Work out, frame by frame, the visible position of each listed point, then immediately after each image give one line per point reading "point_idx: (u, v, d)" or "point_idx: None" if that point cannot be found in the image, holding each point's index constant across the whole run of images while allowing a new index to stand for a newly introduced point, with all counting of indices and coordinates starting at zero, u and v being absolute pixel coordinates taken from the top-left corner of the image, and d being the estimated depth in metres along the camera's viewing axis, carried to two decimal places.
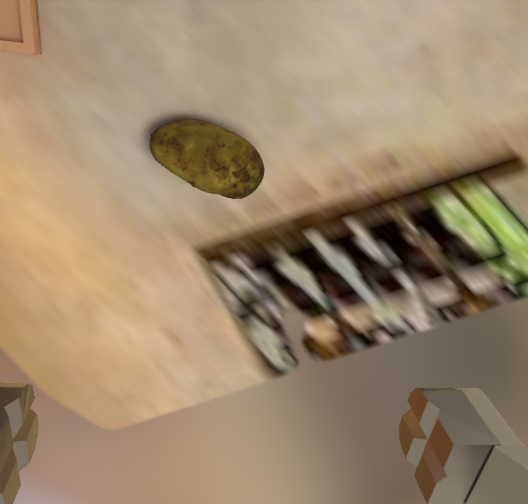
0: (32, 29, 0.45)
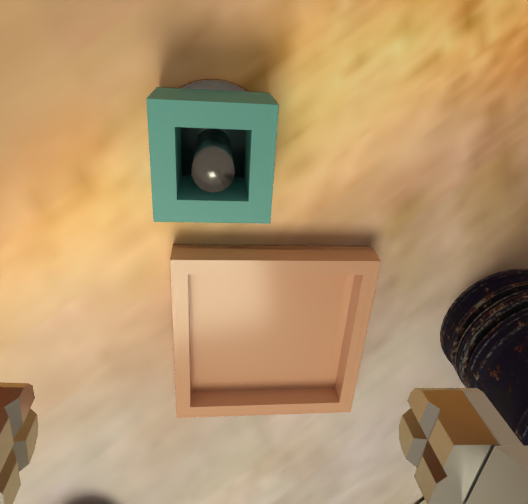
0: (209, 416, 0.33)
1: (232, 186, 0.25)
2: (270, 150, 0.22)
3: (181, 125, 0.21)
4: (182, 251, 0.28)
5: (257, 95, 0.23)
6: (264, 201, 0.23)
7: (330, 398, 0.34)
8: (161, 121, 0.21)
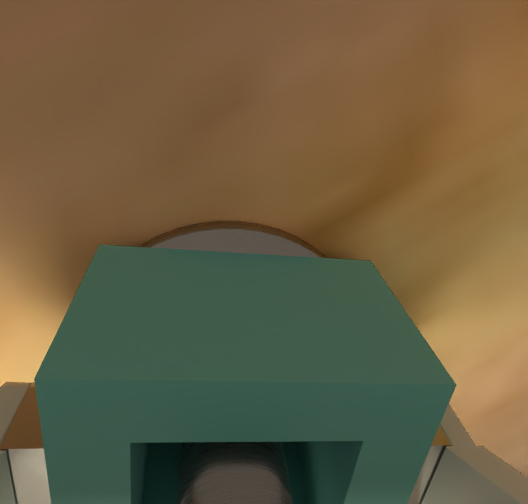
0: None
1: None
2: (403, 478, 0.08)
3: (152, 439, 0.07)
4: None
5: (354, 287, 0.09)
6: None
7: None
8: (87, 431, 0.06)
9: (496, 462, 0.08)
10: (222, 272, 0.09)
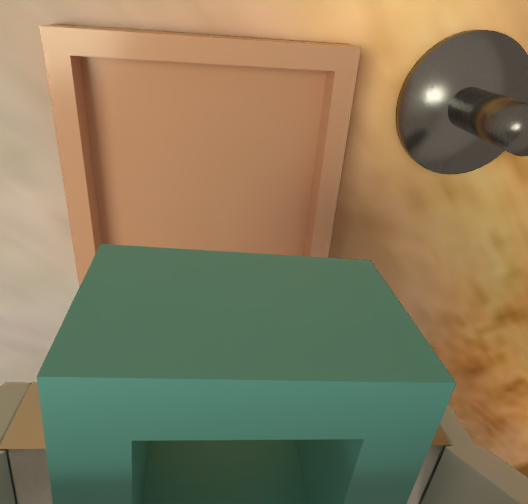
0: (50, 89, 0.18)
1: (270, 466, 0.11)
2: (404, 476, 0.08)
3: (153, 437, 0.07)
4: None
5: (355, 286, 0.09)
6: None
7: None
8: (89, 430, 0.06)
9: (496, 462, 0.08)
10: (223, 271, 0.09)
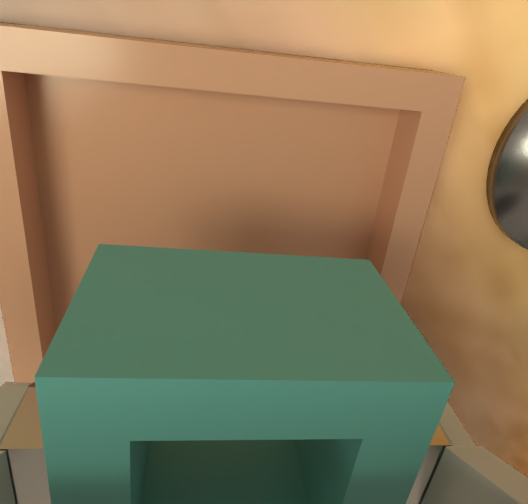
0: None
1: (269, 466, 0.11)
2: (403, 476, 0.08)
3: (152, 437, 0.07)
4: None
5: (353, 285, 0.09)
6: None
7: None
8: (87, 430, 0.06)
9: (496, 462, 0.08)
10: (221, 271, 0.09)
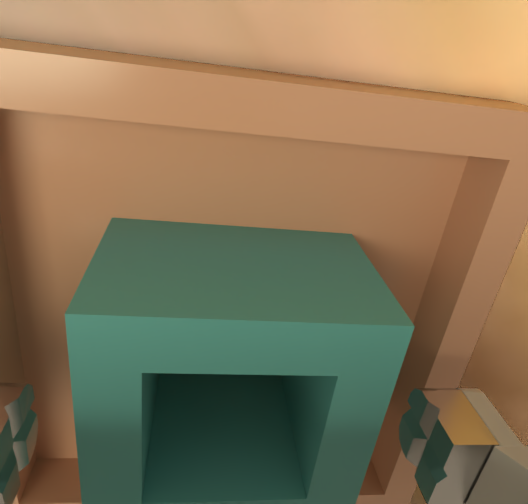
0: None
1: (262, 418, 0.12)
2: (374, 412, 0.09)
3: (160, 370, 0.08)
4: None
5: (335, 253, 0.10)
6: (341, 497, 0.10)
7: (22, 476, 0.13)
8: (106, 362, 0.08)
9: None
10: (219, 240, 0.10)
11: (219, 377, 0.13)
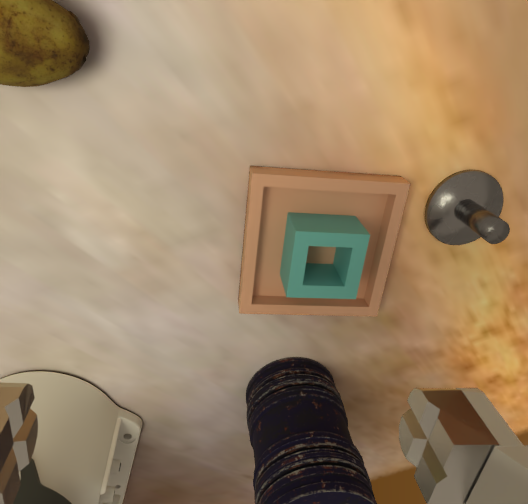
0: (250, 202, 0.36)
1: (329, 272, 0.39)
2: (361, 258, 0.36)
3: (312, 245, 0.35)
4: None
5: (351, 220, 0.38)
6: (354, 286, 0.37)
7: (251, 296, 0.40)
8: (301, 242, 0.35)
9: None
10: (319, 217, 0.37)
11: (313, 264, 0.40)
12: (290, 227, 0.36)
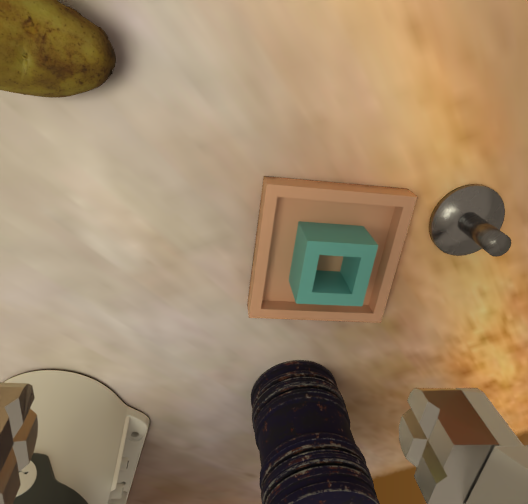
0: (263, 211, 0.37)
1: (337, 280, 0.41)
2: (369, 267, 0.38)
3: (323, 254, 0.36)
4: None
5: (359, 230, 0.39)
6: (361, 294, 0.39)
7: None
8: (312, 252, 0.36)
9: None
10: (328, 227, 0.39)
11: (321, 271, 0.42)
12: (301, 236, 0.38)
